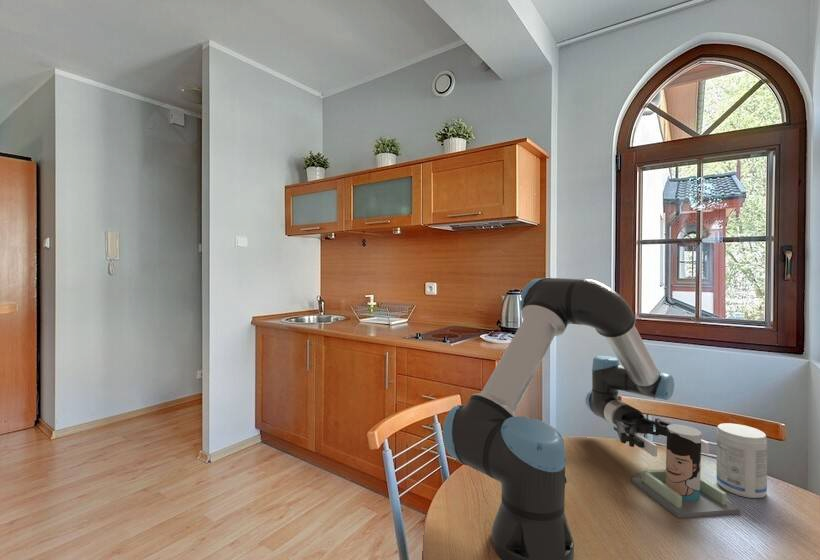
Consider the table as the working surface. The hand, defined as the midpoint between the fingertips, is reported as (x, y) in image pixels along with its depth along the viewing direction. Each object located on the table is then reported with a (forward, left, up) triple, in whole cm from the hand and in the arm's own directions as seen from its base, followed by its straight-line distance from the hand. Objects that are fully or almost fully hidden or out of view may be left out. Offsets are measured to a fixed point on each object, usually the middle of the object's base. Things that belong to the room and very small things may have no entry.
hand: (681, 449), depth 95 cm
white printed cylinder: (0, -1, -10) cm, 10 cm away
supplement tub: (+17, 0, -11) cm, 20 cm away
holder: (0, -1, -11) cm, 11 cm away
